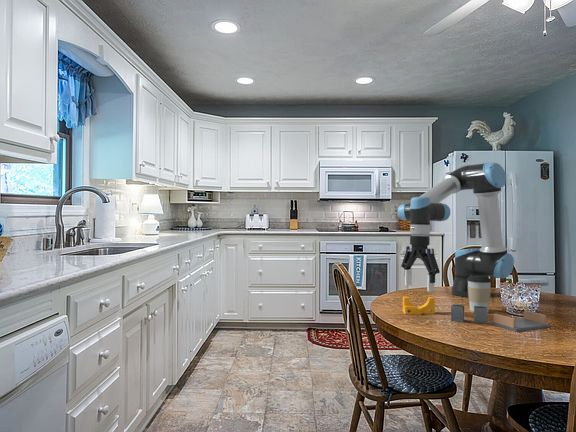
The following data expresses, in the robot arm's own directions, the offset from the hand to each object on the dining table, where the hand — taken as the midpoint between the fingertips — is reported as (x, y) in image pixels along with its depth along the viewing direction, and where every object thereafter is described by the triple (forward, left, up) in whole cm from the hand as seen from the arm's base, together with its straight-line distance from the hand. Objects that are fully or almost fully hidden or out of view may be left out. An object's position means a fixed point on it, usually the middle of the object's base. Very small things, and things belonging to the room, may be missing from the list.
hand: (419, 288), depth 155 cm
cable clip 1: (-7, +13, -10) cm, 18 cm away
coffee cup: (-27, +4, -11) cm, 30 cm away
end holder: (-23, +26, -10) cm, 36 cm away
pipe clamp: (-1, -1, -11) cm, 11 cm away
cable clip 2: (-13, +18, -10) cm, 25 cm away
